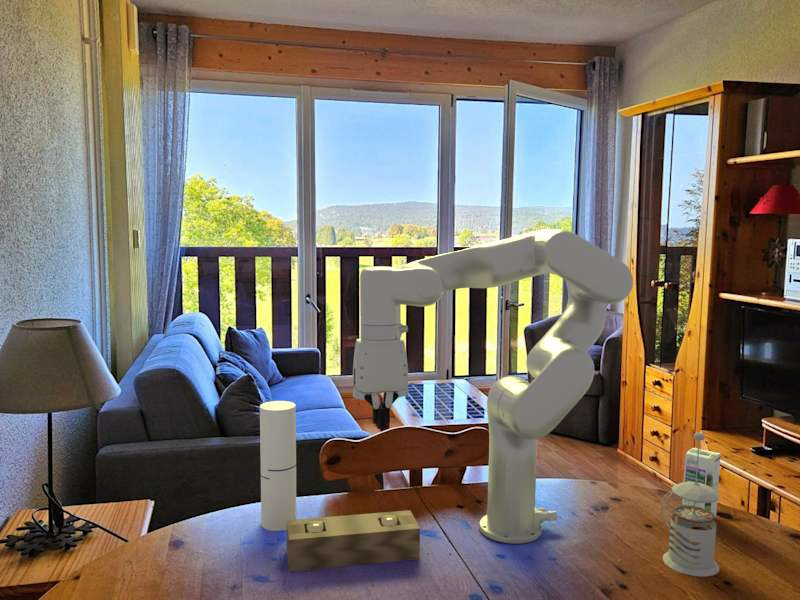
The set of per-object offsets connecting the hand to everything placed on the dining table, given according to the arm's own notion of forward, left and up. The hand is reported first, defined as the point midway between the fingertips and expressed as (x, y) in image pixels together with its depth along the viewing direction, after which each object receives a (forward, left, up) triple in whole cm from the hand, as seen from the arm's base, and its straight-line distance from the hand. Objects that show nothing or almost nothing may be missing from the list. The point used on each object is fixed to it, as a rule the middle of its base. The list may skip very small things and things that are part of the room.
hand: (381, 426), depth 131 cm
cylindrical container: (+19, -12, -24) cm, 33 cm away
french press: (-55, +18, -24) cm, 62 cm away
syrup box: (-69, +2, -24) cm, 73 cm away
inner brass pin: (-1, +4, -23) cm, 23 cm away
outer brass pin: (+13, +4, -23) cm, 26 cm away
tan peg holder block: (+6, +4, -23) cm, 24 cm away
